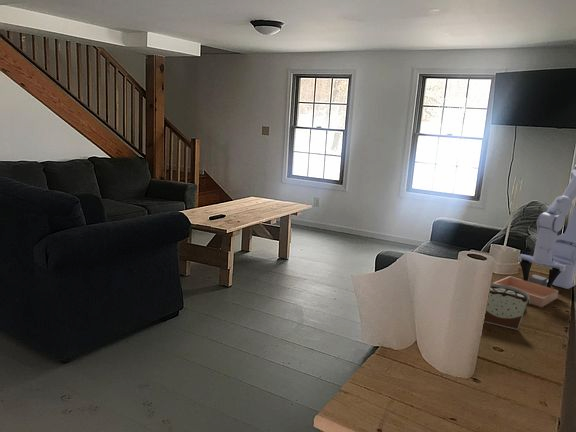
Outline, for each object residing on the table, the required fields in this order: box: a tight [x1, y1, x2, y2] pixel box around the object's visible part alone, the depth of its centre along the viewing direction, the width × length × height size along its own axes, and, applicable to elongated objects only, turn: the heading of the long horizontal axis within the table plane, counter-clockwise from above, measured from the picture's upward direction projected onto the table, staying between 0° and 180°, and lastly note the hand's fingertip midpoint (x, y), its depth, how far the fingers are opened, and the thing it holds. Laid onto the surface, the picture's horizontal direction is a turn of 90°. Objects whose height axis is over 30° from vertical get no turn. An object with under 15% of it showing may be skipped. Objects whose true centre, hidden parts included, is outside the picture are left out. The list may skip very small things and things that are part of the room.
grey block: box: [528, 274, 549, 287], centre depth 165 cm, size 4×4×4 cm
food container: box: [483, 283, 531, 331], centre depth 132 cm, size 12×6×10 cm, turn 65°
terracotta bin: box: [492, 275, 559, 308], centre depth 157 cm, size 14×16×3 cm
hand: (536, 284), depth 165 cm, fingers open, 7 cm apart
